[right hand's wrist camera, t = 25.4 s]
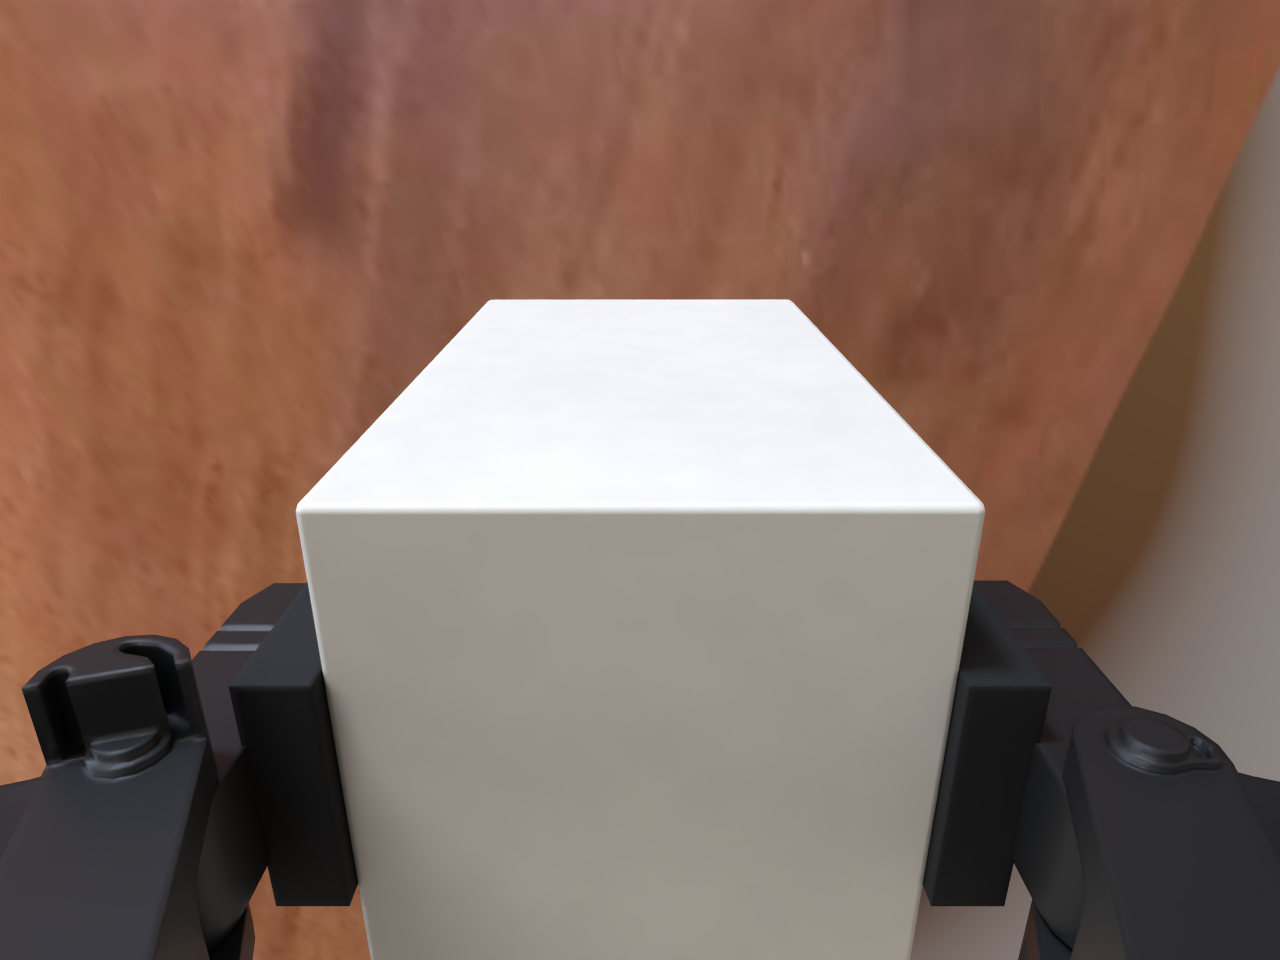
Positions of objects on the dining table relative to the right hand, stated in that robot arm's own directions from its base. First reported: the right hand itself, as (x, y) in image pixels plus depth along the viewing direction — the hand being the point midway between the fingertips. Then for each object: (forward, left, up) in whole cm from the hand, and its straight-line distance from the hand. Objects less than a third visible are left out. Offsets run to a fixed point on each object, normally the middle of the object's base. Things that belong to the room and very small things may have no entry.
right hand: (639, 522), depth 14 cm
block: (0, 0, -4) cm, 4 cm away
